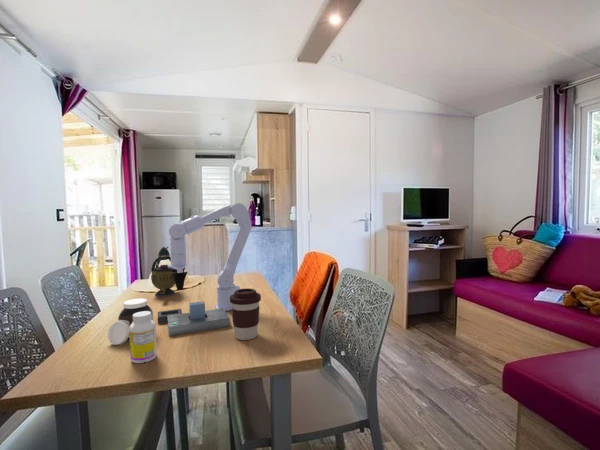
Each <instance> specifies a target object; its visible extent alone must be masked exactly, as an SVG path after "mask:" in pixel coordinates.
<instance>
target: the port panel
mask: <svg viewBox="0 0 600 450" xmlns="http://www.w3.org/2000/svg"><path fill="white" fill-rule="evenodd" d="M167 320H168V322H167V331H168V336H169V337H172V336H178V335H184V333H185V334H190V333H195V332H203V331H209V330H214V329H215V330H217V329H221V328H228V327H231V322H230V321H231V319H230V316H229V315H228V314H227V311H225V310H224V309H223V308H221V309H216V308H215V309H207V310H205V318H200V319H193V320H190V312H185V313H182V314H177V315H170V316H167Z"/></svg>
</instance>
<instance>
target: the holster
mask: <svg viewBox="0 0 600 450" xmlns="http://www.w3.org/2000/svg"><path fill="white" fill-rule="evenodd" d="M177 314H183V311H182V309H181V308H177V309H167V310H162V311H161V310H160V311H157V324H165V323H166V324H167V323H168V320H167V316H170V315H177Z"/></svg>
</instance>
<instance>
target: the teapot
mask: <svg viewBox="0 0 600 450" xmlns="http://www.w3.org/2000/svg"><path fill="white" fill-rule="evenodd" d="M168 248H169V246H166V247H165V246H163V247H161V249H160V250H159V252H158V254H157V257H156V258H155V260H154V261H153V262H152V265H151V268H150V269H151V274H150V279H151V283H152V285H153V287H154V288H156V289H158V291H157V292H156V293H155V294H154V296H155V297H157V296H158V298H159V297H160V298H166V297H170V296H174V295H175V294H176V291H175V290H173V289H172V288H173V287H174V286H176V284H175V280H174V277H173V275H172V271H171V269H172V268H171V267H170V268H168V265H169V264H161V261H167V260H169V262H170V263H171V253H170V252H169V250H168Z"/></svg>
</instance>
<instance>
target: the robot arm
mask: <svg viewBox="0 0 600 450" xmlns="http://www.w3.org/2000/svg"><path fill="white" fill-rule="evenodd" d="M231 215H232V217H233V218H234V220H235V221H236V222H237V225H238V226H239V229H238V231H237V234H236V236H235V239H234V241H233V244H232V246H231V249H230V251H229V254H228V256H227V259H226V262H225V264H224V266H223V268H222V269H221V270H220V271H219V273H218V275H217V277H218V278H217V284H218V285H217V286H216V297H217V298H216V299H217V300H216V301H217V303H216V305H215V306H214V307H215V309H221V308H223V309H224V310H225V312H227V311H232V303H231V302H230V296H231V295H233V294H234V292H235V291H236V290H239V289H241V288H240V287H241V286H240V285H236V284H234V282H235V280H234V276H235V273H236V269H237V267H238V263H239V261H240V259H241V256H242V253H243V251H244V248H245V246H246V244H247V241H248V238H249V235H250V234H251V231H252V221H251V217H250V212H249V210H248V209H247V207H246V206H245V204H244V203H241V202H237V203H234V204H229V205H225V206H222V207H220V208H217V209H216V210H214V211H211V212H209V213H207V214H205V215H203V216H200V215H198V214H196V215H194V214H192V215H191V216H190V217H189V218H187V219H184V220H182V219H181V220H179V221H178V223H174V224H172V225H171V226H170V227H169V229H168V234H169V236H170V243H169V244H170V245H169V247H170V248H169V249H170V257H171V262H170V264H167V265H168V268H170V267H171V268H172V269H171V271H172V275H173V277H174V280H175V286H176V290H177V291H181V290H182V291H183V289H184V286H185V285H184V284H185V280H186V277H187V275H188V271H186V268H187V267H188V265H187V251H186V249H187V248H186V239H185V238H186V235H190V234H193V233H194V232H197V231H199V230H201V229H203V228H204V226H205V224H207V223H210V222H212V221H214V220H217V219H221V218H222V217H226V218H228V217H231Z"/></svg>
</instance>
